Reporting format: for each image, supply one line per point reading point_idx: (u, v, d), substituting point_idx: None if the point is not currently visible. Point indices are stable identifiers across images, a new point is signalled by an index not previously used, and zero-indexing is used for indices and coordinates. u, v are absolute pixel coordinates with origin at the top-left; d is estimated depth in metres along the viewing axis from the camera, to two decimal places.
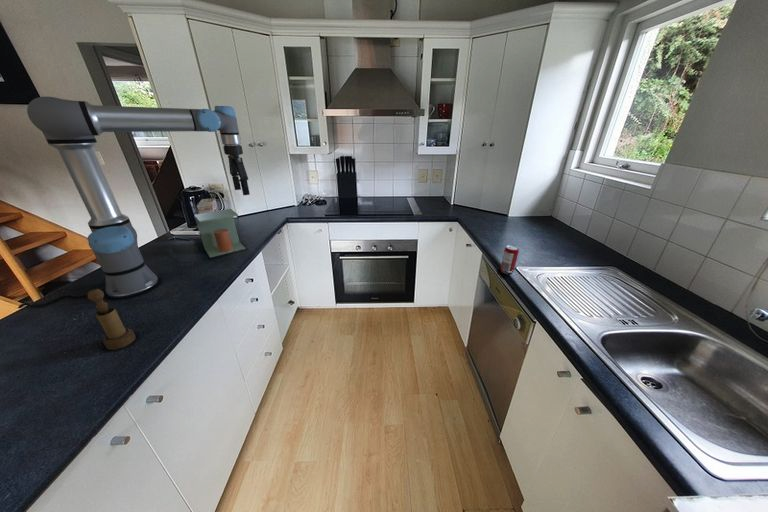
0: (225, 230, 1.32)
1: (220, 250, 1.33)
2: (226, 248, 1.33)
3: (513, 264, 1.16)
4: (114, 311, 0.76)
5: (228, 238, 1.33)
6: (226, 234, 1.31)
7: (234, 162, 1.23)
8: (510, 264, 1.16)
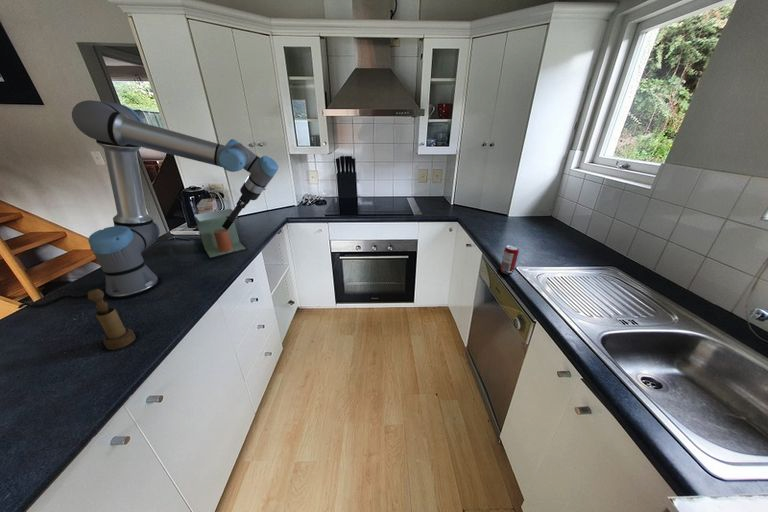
0: (225, 230, 1.32)
1: (220, 250, 1.33)
2: (226, 248, 1.33)
3: (513, 264, 1.16)
4: (114, 311, 0.76)
5: (228, 238, 1.33)
6: (226, 234, 1.31)
7: None
8: (510, 264, 1.16)
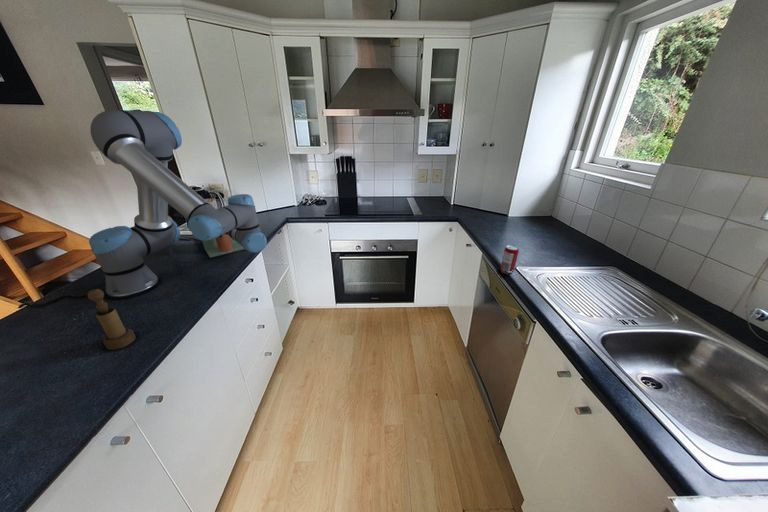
0: None
1: (220, 250, 1.33)
2: (226, 248, 1.33)
3: (513, 264, 1.16)
4: (114, 311, 0.76)
5: (228, 238, 1.33)
6: None
7: None
8: (510, 264, 1.16)
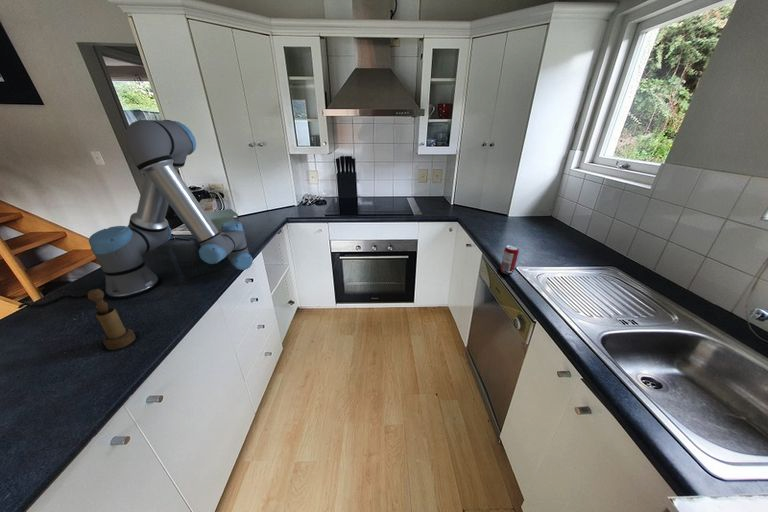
0: None
1: None
2: None
3: (513, 264, 1.16)
4: (114, 311, 0.76)
5: None
6: None
7: None
8: (510, 264, 1.16)
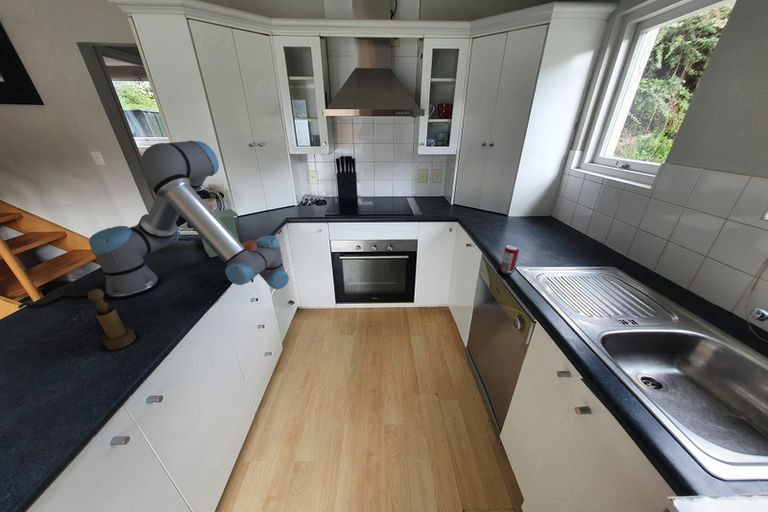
0: (253, 242, 1.21)
1: None
2: None
3: (513, 264, 1.16)
4: (114, 311, 0.76)
5: None
6: (255, 247, 1.20)
7: None
8: (510, 264, 1.16)
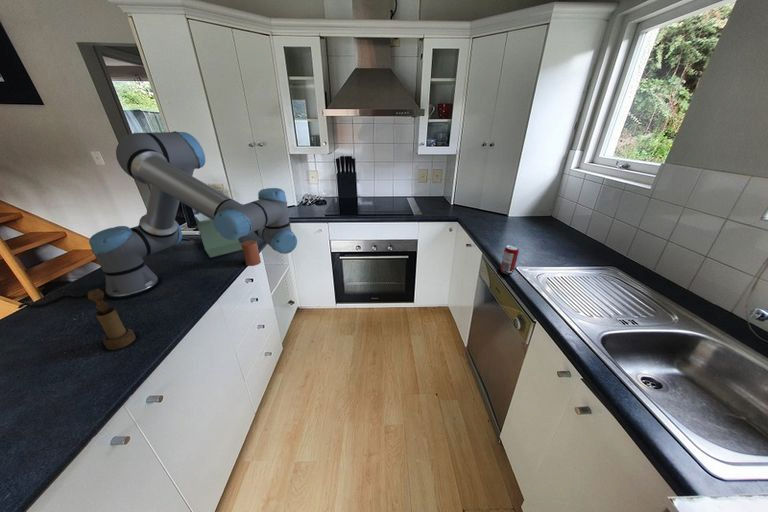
0: (253, 242, 1.21)
1: (248, 264, 1.22)
2: (254, 261, 1.22)
3: (513, 264, 1.16)
4: (114, 311, 0.76)
5: (256, 251, 1.22)
6: (255, 247, 1.20)
7: None
8: (510, 264, 1.16)
